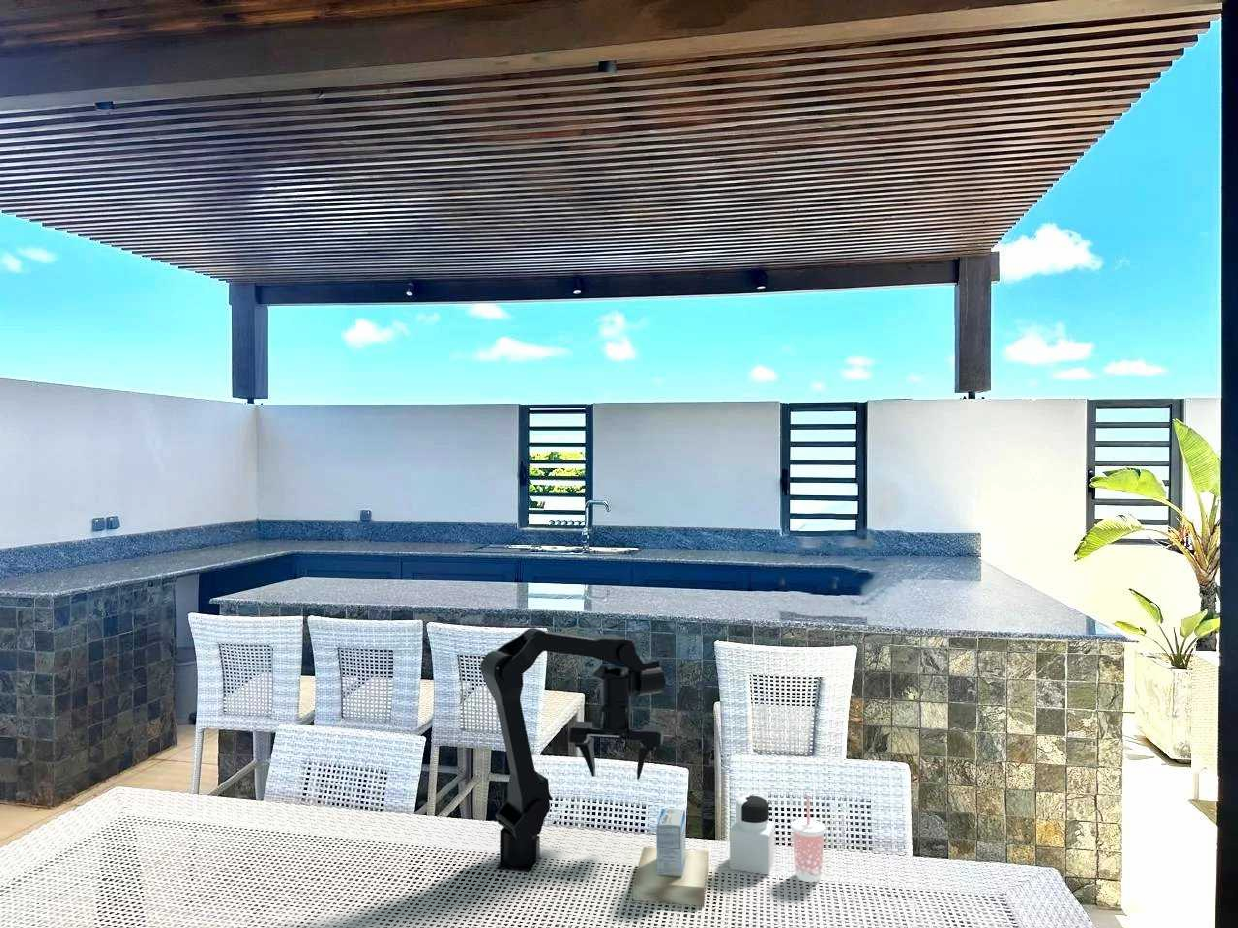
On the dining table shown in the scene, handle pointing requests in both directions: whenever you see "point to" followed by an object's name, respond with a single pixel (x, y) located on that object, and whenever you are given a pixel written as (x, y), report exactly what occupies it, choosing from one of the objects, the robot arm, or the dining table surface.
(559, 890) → the dining table surface
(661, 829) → the medicine box
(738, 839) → the medicine bottle
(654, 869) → the wood pedestal
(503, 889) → the dining table surface
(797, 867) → the beverage cup
